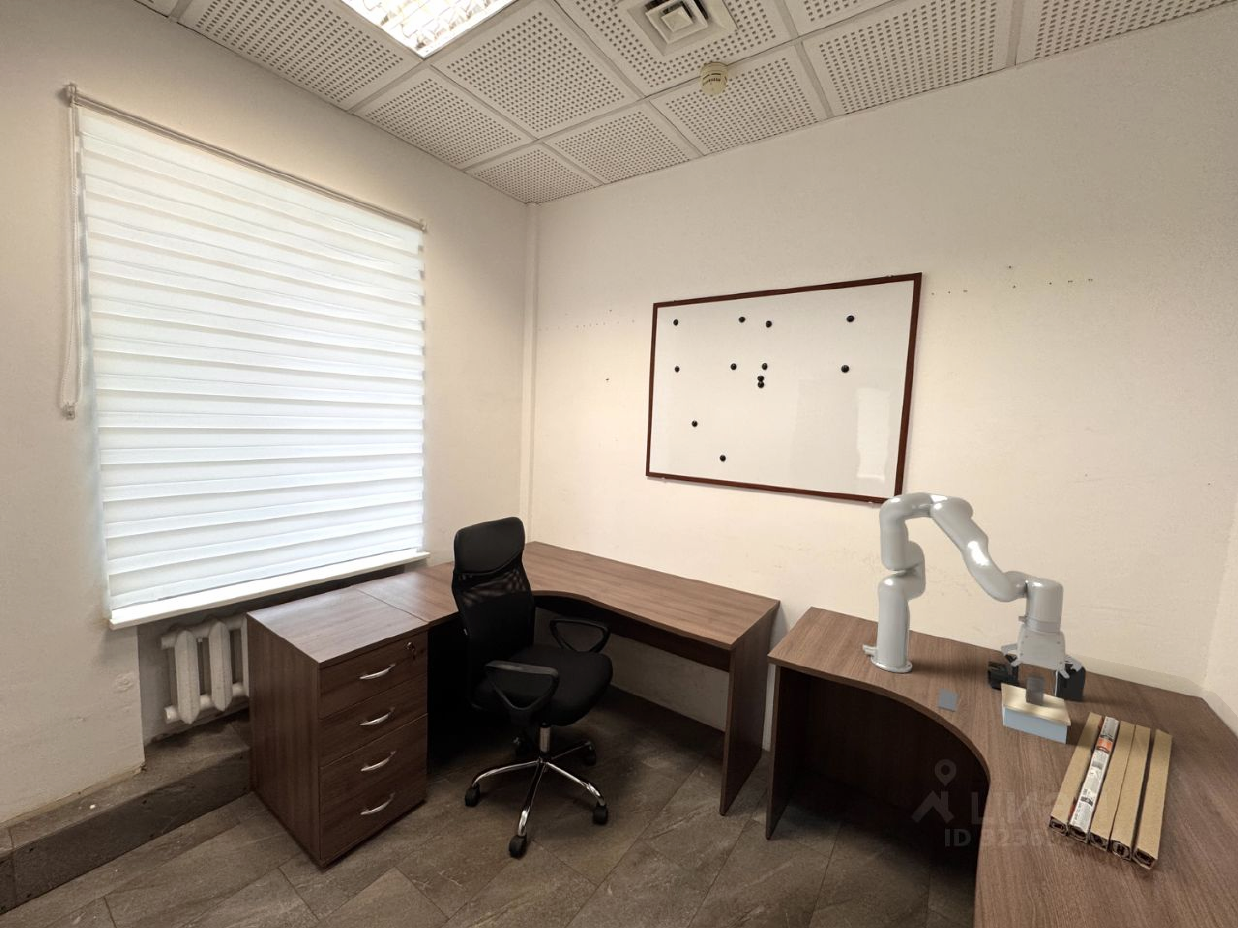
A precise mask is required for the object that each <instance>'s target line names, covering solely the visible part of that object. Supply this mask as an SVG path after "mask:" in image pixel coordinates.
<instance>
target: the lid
mask: <svg viewBox="0 0 1238 928" xmlns="http://www.w3.org/2000/svg"><path fill="white" fill-rule="evenodd" d="M1026 677H1027V678H1026V687H1025V688H1022V687H1020V688H1019V687H1015V686H1011V685H1007V684H1003V683H1002V684H1001V688H1002V689H1001V702H1002V701H1003V707H1004V708H1008V709H1011V710H1015V711H1019V712H1022V713H1026V714H1029V715H1033V716H1036V717H1040V718H1044V719H1047V720H1051V721H1054V722H1058V723H1062V724H1065V725H1067V726H1068V727H1069V726H1071V725H1072V724H1071V719H1070V716H1069V712H1068V709H1067V705H1066V702H1065V699H1062V698H1058V697H1056V696H1055V695H1050V694H1046V693H1045V687H1046V686H1045V685H1046V682H1045V677H1044V676H1040V675H1037V674H1032V673H1027V676H1026Z"/></svg>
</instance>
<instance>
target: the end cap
mask: <svg viewBox="0 0 1238 928" xmlns="http://www.w3.org/2000/svg"><path fill="white" fill-rule="evenodd" d="M987 666H988V667H990V669H987V671H986V672H987V673H986V674H987V677H986V679H987V680H986V681H987V684H988V685H989V686H990V687H992V688H997V689H1001V690H1002V688H1001V684H1002V683H1003V684H1007V685H1011V686H1015V687H1019V688H1021V686H1020V685H1021V684H1020V681H1019V680H1018V681H1015V680H1014V676H1011V671H1012V665H1011V663H1010V662H1008V661H1007V662H1006V661H1003V663H998V662H996V661H995V662H994V661H988V663H987Z"/></svg>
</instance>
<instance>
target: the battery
mask: <svg viewBox="0 0 1238 928" xmlns="http://www.w3.org/2000/svg"><path fill="white" fill-rule="evenodd" d="M1072 666H1073V664H1072V663H1070V662H1068V661H1067V660H1065V669H1068V668H1070V667H1072ZM1059 674H1060V672H1059V671H1057V670H1053V675H1054V677H1055V679H1054V681H1055V682H1054V684H1055V685H1054V688H1053V696H1054V697H1058V698H1062V699H1064V700H1067V701H1068V700H1070V701H1074V702H1075V701H1076V702H1083V698H1084V690H1085V685H1086V684H1085V683H1086V677H1087V669H1086V668H1085V666H1084V665H1082V667H1081V668H1080V669H1079V671H1077V673H1076V674H1074V675H1072V676H1070V677H1069V678H1067V688H1063V692H1061V691H1060V690H1059V687H1058V684H1059Z"/></svg>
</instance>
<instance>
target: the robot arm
mask: <svg viewBox="0 0 1238 928" xmlns="http://www.w3.org/2000/svg"><path fill="white" fill-rule="evenodd" d="M973 515H974V510H973V506H972V505H971V503H970V502H969V501H967V500H966V499H964V498H961V497H957V496H950V495H944V494H937V493H930V492H912V493H909V492H908V493H902V494H898V495H895V496H892V497H890V498H888V499H887V500H885V501H884V502H883V503H882V505H881V506H880V508H879V513H878V519H879V521H878V522H879V529H880V530H879V531H880V532H879V533H880V537H879V538H880V539H879V540H880V558H881V559H880V560H881V564H882V565H883V567H884V568H885V569H886V570H888V571H891V572H896V573H893V574H890V575H887V576H885V577H884V578H882V579H881V580H880V582H878V585H877V595H878V596H877V597H878V622H877V626H878V627H877V639H876V645H875V646H870V645H867V644H862V651H864V653H865V654H868V655H869V654H870V655H871V656H870V661H871V663H872V664H873V665H875V666H876V667H878V668H880V669H883V670H885V671H887V672H892V673H901V674H902V673H909V672H910V671H912V669H913V664H912V662H911V661H910V660H909V659H908V657H909V656H908V653H909V641H910V629H911V628H910V627H911V611H910V606H909V602H910V601H913V600H915V599H918V598H919V597H922V596H923V594H924V593H925V592H926V591H925V590H926V586H927V584H926V583H927V581H926V578H927V577H926V558H925V553H924V551H923V548H922V547H921V546H920V545H919V544H918V543H917V542H915V541H913V540H910V539H909V538H910V537H909V529H908V525H907V523H906V521H908V520H913V519H914V520H915V519H920V518H927V519H932V521H933V522H934V523H935V524H936V525H937V526H938V527H939V529H940V530H941V531H942V532H943V534H944V535H945V536H947V537H948V538H949V540H950V541H951V542H952V543H953V544H954V545H955V547H956V548H957V550H959V551H960V553H961V555H962V560H963V561H964V564H965V566H966V569H967V570H968V573H969V574H970V576H971V578H972V579H974V581H975V582H976V583H977V585H978V586H979V587H980V588H981V589H982V590H983V591H984V592H985V594H987V595H988V596H990V598H992V599H994V600H995V601H998V602H1001V603H1010V602H1014V601H1016V600H1018V599H1019V600H1021V599H1026V600H1025V601H1026V602H1025V614H1024V615H1022V616H1021V615H1018V621H1019V622H1022V624H1021V626H1020V628H1019V632H1018V633H1019V634H1018V636H1017V642H1016V643H1010V644H1007V645H1002V646H1000V650H1001V652H1002V655H1003V656H1004V658H1005V660H1007V662H1008V663H1009V664H1010V665H1011V666H1012V671H1011V676H1014V680H1015V681H1019V669H1020V668H1019V665H1020V664H1025V665H1029V666H1033V667H1038V668H1043V669H1047V670H1048V669H1049V670H1053V671H1054V670H1057V671H1059V672H1060V674H1059V684H1058V687H1059V690H1060V691H1061V692H1063V688H1067V678H1069V677H1070V676H1072V675H1074V674H1076V673H1077V671H1079V669H1080V668H1081V667H1082V666H1083V664H1082V662H1080V661H1079V660H1077V659H1076V658H1075V657H1072V656H1070V655H1069V654H1068V653H1066V640H1065V639H1066V638H1065V634H1064V632H1063V631H1061V629H1062V628H1061V626H1062V611H1063V600H1064V586H1063V584H1062V583H1060V582H1058V581H1056V580H1054V579H1049V578H1045V577H1037V576H1033V575H1031V574H1028V573H1026V572H1022V571H1019V570H1007V571H1005V572H1003V571H1002V570H1001V569H1000V568H999V566H998V565H997V564H996V563H995V562H994V560H993V559H992V557H991V554H990V552H989V536H988V534H987V533H985V531H984V530H983V529H982V528H981V527H980V526H979V525H978V524H977V523H976V522H975V521H974V520H973V518H972V517H973ZM1009 651H1016V655H1015V656H1014V657H1013V656H1012V655H1011V654H1010V653H1009ZM1065 661H1068V662H1070V663H1072V664H1073V666H1072V667H1070V668H1068V669H1065Z"/></svg>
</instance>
